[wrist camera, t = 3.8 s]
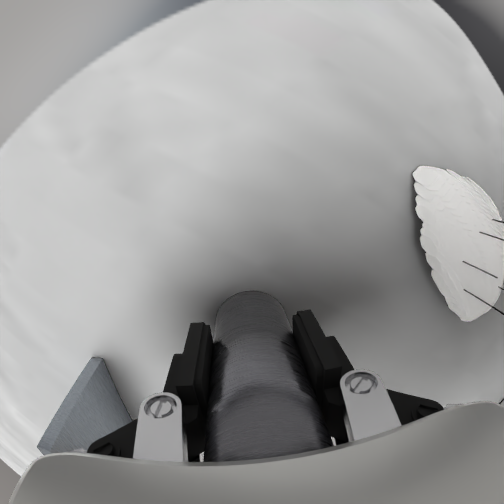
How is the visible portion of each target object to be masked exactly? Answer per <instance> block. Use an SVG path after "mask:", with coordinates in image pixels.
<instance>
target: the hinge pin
mask: <svg viewBox="0 0 504 504" xmlns="http://www.w3.org/2000/svg"><path fill="white" fill-rule="evenodd" d="M332 446H334V445H333V442H332V439H331V436H330V434H329V431H328V428H327V425H326V423H325V420H324V417H323V414H322V411H321V409H320V406H319V403H318V400H317V398H316V395H315V392H314V390H313V387H312V384H311V382H310V379H309V376H308V373H307V371H306V368H305V365H304V362H303V360H302V357H301V354H300V352H299V349H298V346H297V344H296V341H295V338H294V335H293V333H292V330H291V327H290V325H289V322H288V319H287V317H286V314H285V311H284V309H283V307H282V306H281V304H280V303H279V302H278V301H277V300H276V299H275V298H274V297H272V296H270V295H268V294H266V293H263V292H258V291H246V292H241V293H238V294H236V295H233V296H232V297H230V298H229V299H227V300H226V301H225V302H224V303H223V304H222V305H221V307H220V308H219V310H218V313H217V316H216V322H215V331H214V341H213V352H212V363H211V373H210V385H209V396H208V409H207V420H206V434H205V448H204V462H224V461H241V460H253V459H263V458H271V457H279V456H286V455H292V454H298V453H304V452H309V451H314V450H319V449H323V448H328V447H332Z"/></svg>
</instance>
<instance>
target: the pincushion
mask: <svg viewBox="0 0 504 504" xmlns="http://www.w3.org/2000/svg"><path fill="white" fill-rule="evenodd" d="M412 174H413V177H414V179H415V181H416V183H415V184H414V187H415V190H416V193H417V194H418V195H417V196H416V198H415V200H416V202H417V206H416V208H415V210H416V212H417V215H418V217H419V218H420V219H421V220H422V221H423V222H424V223H423V224H422V229H421V230H420V232H421V237H420V242H421V246H422V248H423V249H424V250H425V251H426V252H427V253H425V255H426V260H427V262H428V263H429V265H430V266H431V267H432V273H431V276H432V278H433V280H434V282H435V283H436V285H437V287H438V289H439V290H440V292H441V294H442V295H444V296H445V300H446V303H447V304H448V307H449V308H450V310H451V311H453V312H455V313H456V315H457V316H460V319H461V320H462V321H466V322H470V321H472V320H475V319H477V318H478V317H479V316H481V315H483V314H485V313H487V312H488V311H489V310H491V308H494V309H495V310H497V311H498V312H500V313H501V314H503V315H504V313H503V312H501V311H499V310H498V309H496V308H495V307H493V306H494V304H495V303H496V302H497V300H498V298H499V296H500V293H501V289H502V290H504V289H503V288H502V286H503V280H504V226H503V225H504V224H503V223H504V222H502V220H501V219H502V218H501V217H500V215H499V212H498V209H497V208H496V206H495V204H494V203H493V202H492V201H493V200H492V199H491V198H490V197H489V196H488V195H487V194H486V193H485V192H484V190H483V189H482V188H481V187H480V186H479V185H478V184H476V183H475V182H474V181H473V180H472V179H470V178H469V177H467V178H468V179H467V178H466V177H464V176H463V178H462V177H461V176H459V175H458V174H457V173H455V172H453V171H451V170H449V169H446V170H443V169H441V168H440V169H439V168H437V167H430V166H429V167H428V166H419V167H418V168H417V169H416V170H415V171H414V172H413V173H412Z"/></svg>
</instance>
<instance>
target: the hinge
mask: <svg viewBox="0 0 504 504" xmlns="http://www.w3.org/2000/svg"><path fill="white" fill-rule="evenodd" d="M130 422H132V420H131V418H130V416H129V414H128V412H127V410H126V408H125V406H124V404H123V402H122V400H121V398H120V396H119V394H118V392H117V390H116V388H115V386H114V384H113V381H112V379H111V377H110V375H109V372H108V370H107V368H106V366H105V363H104V361H103V358H91V359H90V361H89V362H88V364H87V365H86V367H85V368H84V370H83V371H82V373H81V374H80V376H79V377H78V379H77V380H76V382H75V384H74V385H73V387H72V388H71V390H70V391H69V393H68V395H67V396H66V398H65V399H64V401H63V403H62V404H61V406H60V408H59V409H58V411H57V412H56V414H55V416H54V418H53V419H52V421H51V423H50V424H49V426H48V428H47V430H46V431H45V433H44V435H43V437H42V438H41V440H40V442H39V444H38V446H37V448H38V449H39V450H40V451H41V453H42V454H43V455H48V454H53V453H62V452H67V451H72V450H77V449H81V448H83V449H84V450H85V451H86V450H88V448H89V446H90V445H91V444H92V443H93V442H95V441H96V440H98V439H100V438H102V437H104V436H106V435H108V434H110V433H112V432H113V431H115V430H117V429H119V428H121V427H123V426H125V425H127V424H128V423H130Z"/></svg>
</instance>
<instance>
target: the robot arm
mask: <svg viewBox="0 0 504 504" xmlns="http://www.w3.org/2000/svg"><path fill="white" fill-rule="evenodd" d="M292 320H293V335H294V338H295V341H296V344H297V346H298V349H299V352H300V354H301V357H302V360H303V362H304V365H305V368H306V371H307V373H308V376H309V379H310V382H311V384H312V387H313V390H314V392H315V395H316V398H317V400H318V403H319V406H320V409H321V411H322V414H323V417H324V420H325V423H326V425H327V428H328V431H329V434H330V436H331V437H332V442H333V445H334V446H332V447H328V448H323V449H319V450H314V451H309V452H304V453H298V454H292V455H286V456H279V457H271V458H263V459H253V460H241V461H224V462H203V458H202V454H201V453H202V452H204V448H205V434H206V420H207V409H208V396H209V385H210V373H211V363H212V352H213V339H212V334H211V329H210V325H205V323H204V322H199V323H191V324H190V328H189V332H188V336H187V339H186V343H185V347H184V351H183V354H174V356H173V359H172V363H171V366H170V369H169V373H168V376H167V380H166V384H165V387H164V391H163V392H161V393H155V394H153V395H150V396H149V397H147V398H146V399H144V401H143V402H142V403H141V406H140V409H139V416H138V419H136V420H134V421H132V422H130V423H128V424H127V425H125V426H123V427H121V428H119V429H117V430H115V431H113V432H112V433H110V434H108V435H106V436H104V437H102V438H100V439H98V440H96V441H95V442H93V443H92V444H91V445H90V446H89V448H88V450H86V451H85V450H84V449H83V448H81V449H77V450H72V451H67V452H62V453H53V454H48V455H44V456H41V457H39V458H37V459H35V460H34V461H33V462H32V463H31V464H30V465H29V466H28V468H27V469H26V470H25V472H24V473H23V475H22V477H21V478H20V480H19V482H18V484H17V485H16V487H15V489H14V492H13V494H12V496H11V498H10V500H9V503H8V504H504V400H503V401H502V403H501V404H498V403H495V402H491V401H479V402H473V403H466V404H447V405H446V407H444V408H443V407H442V406H441V405H440V404H439V403H437V402H436V401H433V400H429V399H425V398H420V397H416V396H412V395H408V394H404V393H400V392H396V391H392V390H388V389H386V388H385V386H384V384H383V381H382V379H381V378H380V376H379V375H378V374H376V373H375V372H373V371H370V370H365V369H356V370H354V368H353V366H352V365H351V363H350V361H349V360H348V358H347V356H346V355H345V353H344V351H343V350H342V348H341V346H340V345H339V343H338V341H337V340H336V338H335V337H334V336H329V337H326V336H325V335H324V333H323V331H322V329H321V327H320V326H319V324H318V322H317V320H316V318H315V317H314V315H313V313H312V311H311V310H304V311H297V315H293V317H292Z"/></svg>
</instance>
